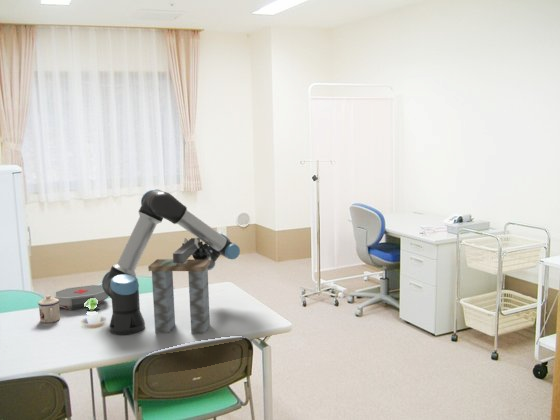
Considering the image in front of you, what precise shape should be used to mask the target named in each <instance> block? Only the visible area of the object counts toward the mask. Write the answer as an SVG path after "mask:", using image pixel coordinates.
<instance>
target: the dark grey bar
mask: <svg viewBox="0 0 560 420" xmlns="http://www.w3.org/2000/svg"><path fill="white" fill-rule="evenodd" d="M195 238H197V237H191V238H190V239H189V240H188V241H187V242H186V243H185V244H184V245H183V246H182V245H181V246H180V247H179V248H178V249H177V250H175V251H174V252H173V253H172V259H173V263H184V262H185V261H186V260H189V259H190V257H192V254H193V253H194V252H195V251H196V250H197V249H198V248H197V247H196V246H195V244H194V242H195ZM197 240H198V241H199V242H201V240H200V238H197Z"/></svg>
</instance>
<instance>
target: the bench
mask: <svg viewBox="0 0 560 420" xmlns="http://www.w3.org/2000/svg"><path fill="white" fill-rule="evenodd" d="M209 265H210V260H195V259H187V260H186V261H185V262H184V263H173V258H165V259H164V258H163V259H161V258H160V259H159V258H158V259H156V260H155V261H153V262H152V263H151V264H150V265H148V272H151V280H152V281H151V282H152V283H151V284H152V298H153V314H154V315H153V317H154V330H155V331H154V333H156V334H157V333H160V334H161V333H163V334H168V333H170V332H171V330H172V329H173V328H174V327H175V326H176V318H175V317H176V315H175V312H176V311H175V298H174V297H175V295H174V275H173V274H174V273H173V272H188V291H189V292H188V293H189V296H188V297H189V314H190V315H189V316H190V333H191V334H206V332H207V330H208V329H209V327H210V326H211V325H210V324H211V319H210V299H209V298H210V297H209V294H210V293H209V273H208V272H209V270H208V266H209Z"/></svg>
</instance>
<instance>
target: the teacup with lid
mask: <svg viewBox="0 0 560 420" xmlns="http://www.w3.org/2000/svg"><path fill="white" fill-rule="evenodd" d="M37 304H38V309H39V310H38V311H39V321H40V322H41V323H43V324H48V323H49V322H51V323H54V322H58V321H59V320H60V318H61V312H60V306H59V300H58V299H57V298H55V297H51V295H49V294H48V295H46V296H45V298H43V299H41V300H39V301H38V302H37ZM49 324H50V323H49Z"/></svg>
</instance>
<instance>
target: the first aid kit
mask: <svg viewBox="0 0 560 420" xmlns="http://www.w3.org/2000/svg"><path fill="white" fill-rule="evenodd" d="M54 298H57V299H58V300H59V308H62V309H66V310H68V309H72V310H77V309H81V308H83V307H84V303H85V302H86V301H87V300H88V299H90V298H96V299H97V300H98V305H100V304H101V303H102V302H104V301H106V300H107V299H108V298H109V296H108V295H107V294H106V293H105V292H104V290H103V287H102V284H101V285H99V284H89V285H83V286H82V285H81V286H73V287H67V288H63V289H60V290H57V291H54ZM76 308H77V309H76ZM84 308H85V307H84Z"/></svg>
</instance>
